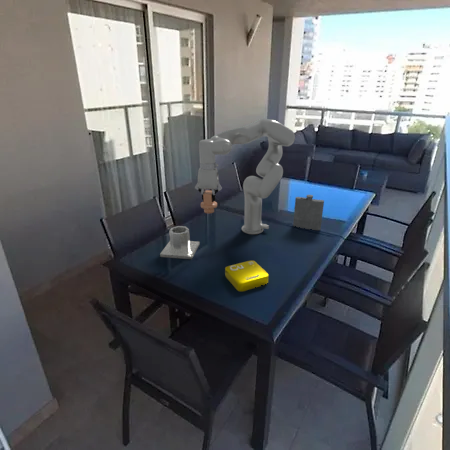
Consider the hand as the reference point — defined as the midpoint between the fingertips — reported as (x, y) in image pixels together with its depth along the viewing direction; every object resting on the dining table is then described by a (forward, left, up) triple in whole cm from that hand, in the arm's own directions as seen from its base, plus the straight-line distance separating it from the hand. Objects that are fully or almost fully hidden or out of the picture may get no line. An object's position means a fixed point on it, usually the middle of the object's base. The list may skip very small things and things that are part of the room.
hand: (208, 201), depth 163 cm
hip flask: (-52, -26, -23) cm, 63 cm away
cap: (0, 0, -6) cm, 6 cm away
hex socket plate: (+13, +12, -23) cm, 29 cm away
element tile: (-23, +32, -24) cm, 46 cm away
